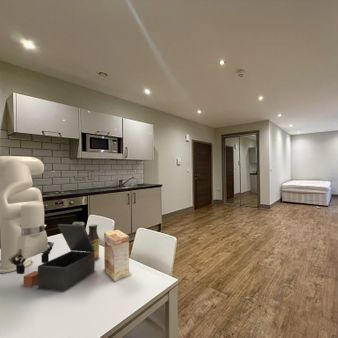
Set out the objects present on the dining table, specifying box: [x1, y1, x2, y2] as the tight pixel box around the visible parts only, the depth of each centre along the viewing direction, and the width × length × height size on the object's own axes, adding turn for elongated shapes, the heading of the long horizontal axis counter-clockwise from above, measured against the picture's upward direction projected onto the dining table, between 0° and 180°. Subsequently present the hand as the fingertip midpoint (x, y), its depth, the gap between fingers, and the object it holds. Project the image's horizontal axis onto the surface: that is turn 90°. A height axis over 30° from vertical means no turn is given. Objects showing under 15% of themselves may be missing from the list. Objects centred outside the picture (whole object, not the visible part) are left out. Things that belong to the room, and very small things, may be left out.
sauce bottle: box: [87, 223, 100, 261], centre depth 110 cm, size 7×6×20 cm
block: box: [23, 270, 38, 288], centre depth 87 cm, size 4×4×4 cm
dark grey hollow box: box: [37, 250, 96, 292], centre depth 90 cm, size 16×14×10 cm
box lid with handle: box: [57, 221, 95, 252], centre depth 97 cm, size 16×14×5 cm
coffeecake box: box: [103, 229, 130, 282], centre depth 96 cm, size 15×7×20 cm, turn 47°
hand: (33, 267), depth 87 cm, fingers open, 9 cm apart
